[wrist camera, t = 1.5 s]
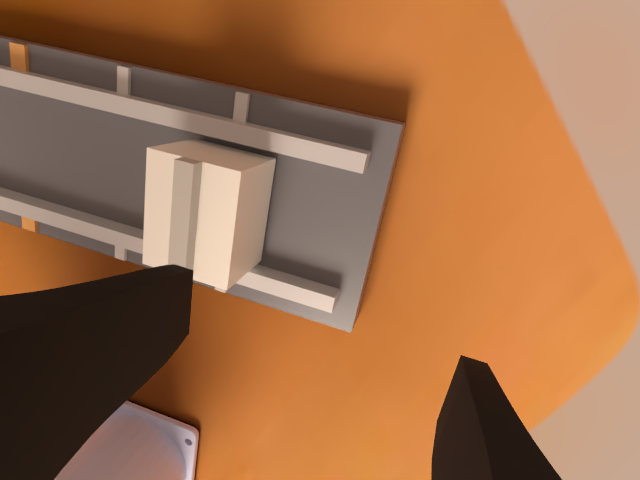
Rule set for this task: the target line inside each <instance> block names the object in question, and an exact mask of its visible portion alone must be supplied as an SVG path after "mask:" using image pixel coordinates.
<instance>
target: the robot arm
mask: <svg viewBox="0 0 640 480" xmlns="http://www.w3.org/2000/svg"><path fill="white" fill-rule="evenodd" d="M193 271H194V270H191V269H188V268H185V267H182V266H178V265H175V264H171V265H163V266H158V267H153V268H148V269H144V270H139V271H135V272H130V273H126V274H122V275H117V276H113V277H109V278H104V279H100V280H95V281H90V282H85V283H80V284H75V285H70V286H65V287H60V288H55V289H49V290H43V291H36V292H29V293H21V294H13V295H5V296H0V480H194V476H195V467H196V457H197V448H198V439H199V432H198V430H197V429H196V428H195V427H193V426H190V425H188V424H185V423H183V422H180V421H177V420H175V419H172V418H170V417H167V416H165V415H162V414H160V413H157V412H154V411H152V410H149V409H147V408H144V407H142V406H139V405H137V404H134V403H132V402H129V401H127V400H128V399H129V398H130V397H131V396H132V395H133V394H134V393H135V392H136V391H137V390H138V389H139V388H140V387H141V386H142V385H143V384H144V383H146V382H147V381H148V380H149V379H150V378H151V377H152V376H153V375H154V374H155V373H156V372H157V371H158V370H159V369H160V368H161V367H162V366H163V365H164V364H165V363H166V362H167V361H168V359H169V358H170V357H171V356H172V355H173V353H174V352H175V351H176V350H177V348H178V347H179V346H180V344H181V343H182V342H183V340H184V339H185V338H186V336H187V335H188V334H189V325H190V311H191V298H192V285H193ZM432 480H562V479H561V478H560V476H559V475H558V474H557V473H556V471H555V470H554V469H553V467H552V466H551V464H550V463H549V462H548V460H547V459H546V457H545V456H544V455H543V453H542V452H541V450H540V449H539V447H538V446H537V445H536V443H535V442H534V440H533V439H532V437H531V436H530V434H529V433H528V431H527V430H526V428H525V426H524V425H523V423H522V422H521V420H520V419H519V417H518V415H517V414H516V412H515V410H514V409H513V407H512V405H511V404H510V402H509V400H508V399H507V397H506V395H505V394H504V392H503V390H502V388H501V387H500V385H499V383H498V381H497V380H496V378H495V376H494V374H493V373H492V371H491V369H490V367H489V366H488V364H487V363H484V362H481V361H478V360H475V359H471V358H468V357H465V356H462V355H461V357H460V359H459V362H458V365H457V368H456V370H455V373H454V376H453V379H452V381H451V384H450V387H449V390H448V392H447V395H446V398H445V401H444V403H443V406H442V409H441V412H440V414H439V417H438V420H437V426H436V433H435V440H434V447H433V455H432Z"/></svg>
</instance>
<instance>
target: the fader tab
mask: <svg viewBox="0 0 640 480" xmlns="http://www.w3.org/2000/svg"><path fill="white" fill-rule="evenodd" d="M275 163H276V158H272V157H268V156H264V155H260V154H255V153H251V152H247V151H243V150H239V149H235V148H231V147H227V146H223V145H219V144H215V143H211V142H207V141H203V140H199V139H190V140H185V141H180V142H174V143H169V144H163V145H158V146H152V147H147V155H146V181H145V207H144V233H143V259H142V264H145V265H148V266H151V267H158V266H163V265H171V264H175V265H178V266H182V267H185V268H188V269H191V270H194V271H193V280H195V281H198V282H202V283H205V284H208V285H211V286H214V287H217V288H220V289H224V290H228V289H229V288H231V287H232V286H233V285H234V284H235V283H236V282H237V281H238V280H240V279H241V278H242V277H243V276H244V275H245V274H246V273H248V272H249V271H250V270H251V269H252V268H253V267H254V266H256V265H257V264H258V263H259V262H260V261H261V258H262V251H263V244H264V237H265V230H266V224H267V217H268V210H269V203H270V197H271V190H272V183H273V176H274V169H275Z"/></svg>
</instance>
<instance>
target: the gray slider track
mask: <svg viewBox="0 0 640 480" xmlns="http://www.w3.org/2000/svg"><path fill="white" fill-rule="evenodd" d="M405 125H406V122H401V121H396V120H392V119H387V118H383V117H378V116H373V115H369V114H364V113H359V112H355V111H350V110H345V109H341V108H336V107H332V106H327V105H322V104H318V103H313V102H308V101H304V100H299V99H295V98H290V97H285V96H281V95H276V94H271V93H267V92H262V91H258V90H253V89H248V88H244V87H239V86H234V85H230V84H225V83H221V82H216V81H211V80H207V79H202V78H197V77H193V76H188V75H184V74H179V73H174V72H170V71H165V70H160V69H156V68H151V67H146V66H142V65H137V64H133V63H128V62H123V61H119V60H114V59H109V58H105V57H100V56H96V55H91V54H86V53H82V52H77V51H72V50H68V49H63V48H59V47H54V46H49V45H45V44H40V43H35V42H31V41H26V40H22V39H17V38H12V37H8V36H3V35H0V221H2V222H6V223H9V224H12V225H15V226H18V227H21V228H23V229H26V230H29V231H33V232H37V233H40V234H43V235H46V236H49V237H53V238H56V239H59V240H62V241H65V242H68V243H71V244H75V245H78V246H81V247H84V248H87V249H90V250H93V251H96V252H100V253H103V254H106V255H109V256H112V257H115V258H117V259H120V260H123V261H128V262H131V263H134V264H137V265H140V266H143V267H147V268H153V267H151V266H148V265H145V264H142V259H143V233H144V207H145V181H146V155H147V147H152V146H158V145H163V144H169V143H174V142H180V141H185V140H190V139H199V140H203V141H207V142H211V143H215V144H219V145H223V146H227V147H231V148H235V149H239V150H243V151H247V152H251V153H255V154H260V155H264V156H268V157H272V158H276V163H275V169H274V176H273V183H272V190H271V197H270V203H269V210H268V217H267V224H266V230H265V237H264V244H263V251H262V258H261V261H260V262H259V263H258V264H257V265H256V266H254V267H253V268H252V269H251V270H250V271H249V272H248V273H246V274H245V275H244V276H243V277H242V278H241V279H240V280H238V281H237V282H236V283H235V284H234V285H233V286H232V287H231V288H229V289H228V290H224V289H220V288H217V287H214V286H211V285H208V284H205V283H202V282H198V281H195V280H193V282H194V283H197V284H200V285H203V286H206V287H209V288H212V289H215V290H217V291H220V292H223V293H228V294H231V295H234V296H237V297H241V298H244V299H247V300H250V301H253V302H256V303H259V304H262V305H266V306H269V307H272V308H275V309H278V310H281V311H284V312H288V313H291V314H294V315H297V316H300V317H303V318H306V319H309V320H313V321H316V322H319V323H322V324H325V325H328V326H331V327H335V328H338V329H341V330H344V331H347V332H350V333H351V332H352V330H353V328H354V325H355V323H356V320H357V318H358V314H359V310H360V306H361V302H362V298H363V294H364V290H365V286H366V282H367V278H368V274H369V270H370V266H371V262H372V258H373V254H374V250H375V246H376V242H377V238H378V234H379V230H380V226H381V222H382V218H383V213H384V209H385V205H386V201H387V197H388V193H389V189H390V185H391V181H392V177H393V173H394V169H395V165H396V161H397V157H398V153H399V149H400V145H401V141H402V137H403V133H404V129H405Z"/></svg>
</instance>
